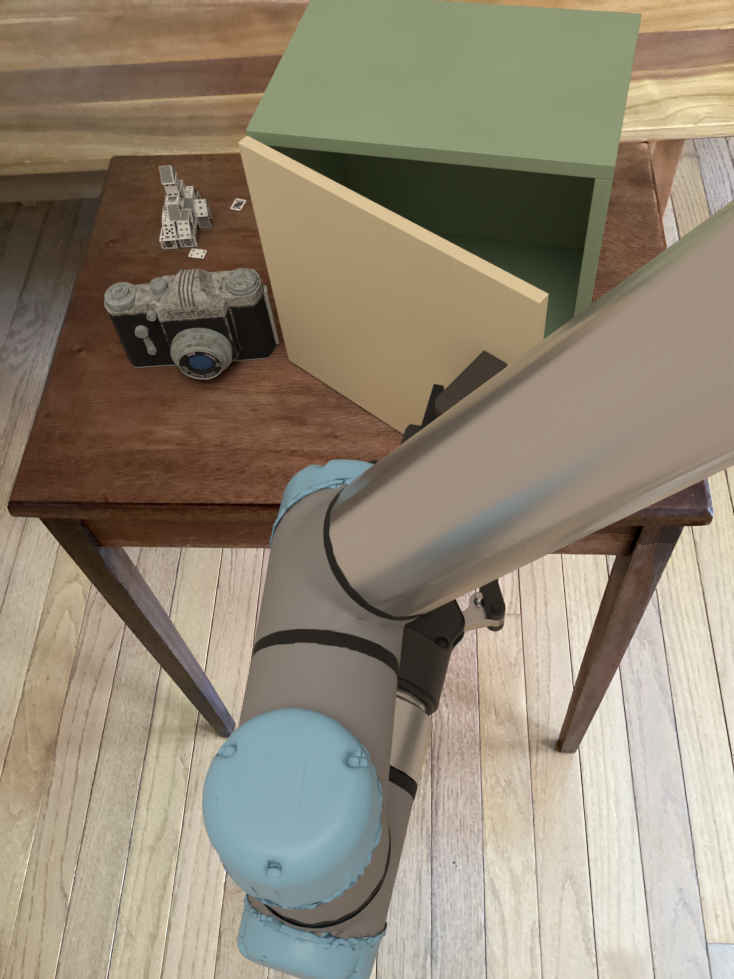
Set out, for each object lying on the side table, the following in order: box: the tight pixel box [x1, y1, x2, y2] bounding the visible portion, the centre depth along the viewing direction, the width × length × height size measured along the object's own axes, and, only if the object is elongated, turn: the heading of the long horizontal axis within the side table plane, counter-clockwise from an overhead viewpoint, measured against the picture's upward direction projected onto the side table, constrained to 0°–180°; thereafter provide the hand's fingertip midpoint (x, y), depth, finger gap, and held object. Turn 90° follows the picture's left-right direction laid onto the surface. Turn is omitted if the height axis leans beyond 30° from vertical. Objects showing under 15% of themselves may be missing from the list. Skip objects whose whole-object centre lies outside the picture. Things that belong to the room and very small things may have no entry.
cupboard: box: [245, 0, 642, 340], centre depth 79 cm, size 18×26×24 cm
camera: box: [103, 267, 280, 381], centre depth 84 cm, size 15×7×10 cm, turn 91°
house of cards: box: [158, 164, 248, 260], centre depth 95 cm, size 9×9×8 cm
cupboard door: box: [237, 135, 549, 435], centre depth 71 cm, size 7×26×24 cm, turn 49°
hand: (459, 400), depth 68 cm, fingers open, 2 cm apart
